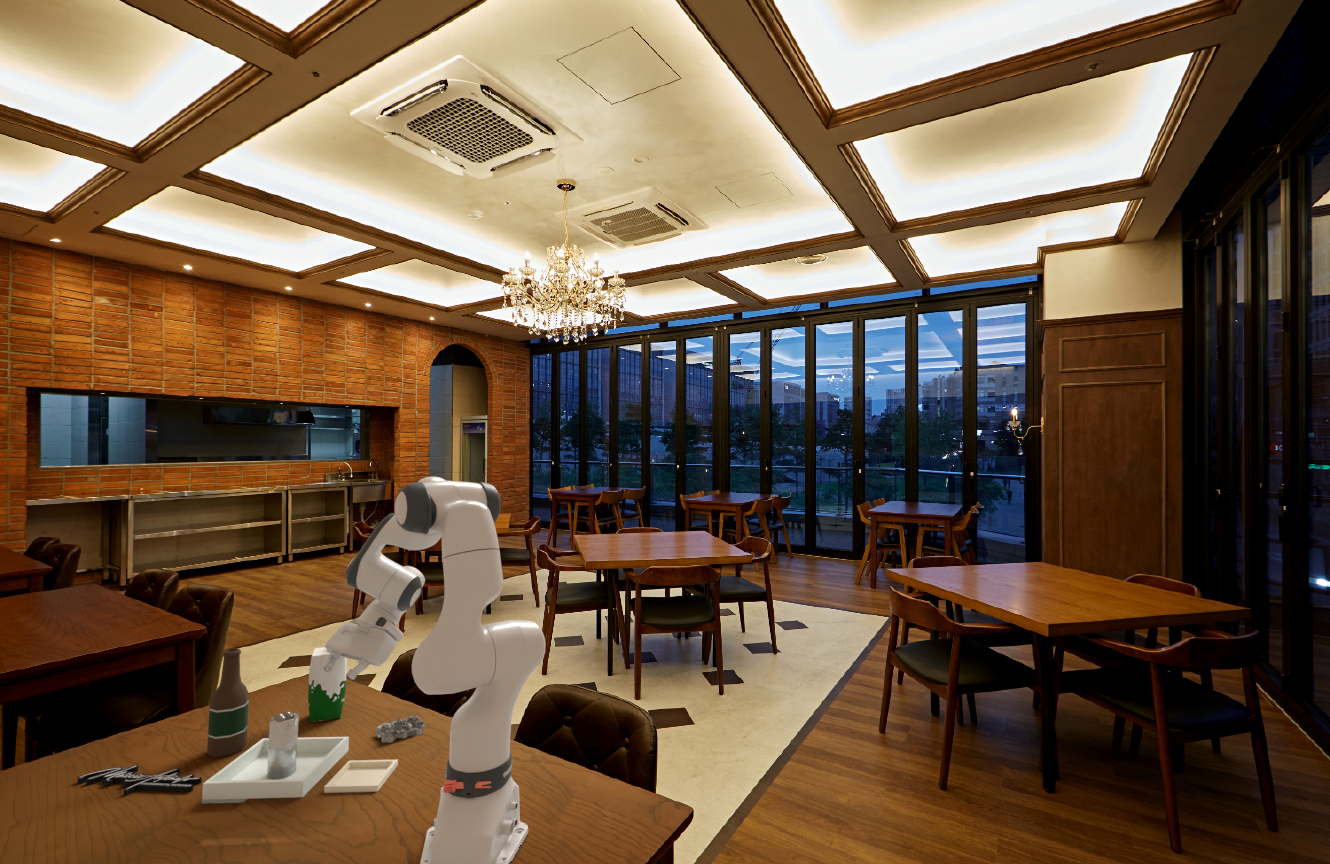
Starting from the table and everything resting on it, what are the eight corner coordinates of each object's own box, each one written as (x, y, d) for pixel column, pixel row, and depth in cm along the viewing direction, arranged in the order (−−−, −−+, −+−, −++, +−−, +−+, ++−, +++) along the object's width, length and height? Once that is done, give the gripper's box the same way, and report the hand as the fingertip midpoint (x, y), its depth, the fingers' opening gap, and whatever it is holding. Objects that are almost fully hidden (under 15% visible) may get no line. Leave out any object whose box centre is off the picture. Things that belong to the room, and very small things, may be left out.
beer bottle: (230, 758, 139) (235, 655, 140) (198, 757, 139) (203, 654, 141) (254, 742, 147) (258, 645, 148) (223, 742, 147) (228, 644, 148)
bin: (302, 800, 122) (303, 781, 122) (201, 803, 121) (202, 783, 121) (348, 753, 142) (348, 736, 142) (262, 755, 141) (263, 738, 141)
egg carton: (382, 749, 145) (382, 732, 145) (373, 738, 150) (374, 722, 151) (426, 736, 152) (426, 720, 152) (416, 726, 157) (417, 710, 158)
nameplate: (57, 787, 124) (105, 763, 134) (57, 794, 124) (104, 770, 134) (180, 793, 122) (219, 768, 132) (180, 800, 122) (219, 775, 132)
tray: (377, 794, 124) (377, 785, 125) (323, 796, 124) (324, 786, 124) (397, 768, 135) (398, 759, 135) (348, 769, 135) (348, 760, 135)
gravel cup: (287, 779, 129) (290, 718, 130) (261, 779, 128) (264, 719, 129) (301, 766, 134) (303, 708, 135) (276, 766, 134) (279, 708, 135)
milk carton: (343, 719, 161) (346, 644, 162) (305, 725, 157) (308, 648, 158) (346, 707, 169) (348, 636, 170) (309, 712, 165) (312, 640, 166)
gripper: (343, 611, 155) (304, 660, 146) (393, 622, 145) (354, 675, 136) (358, 625, 159) (321, 673, 150) (408, 636, 149) (371, 688, 140)
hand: (337, 674), depth 143 cm, fingers open, 8 cm apart
